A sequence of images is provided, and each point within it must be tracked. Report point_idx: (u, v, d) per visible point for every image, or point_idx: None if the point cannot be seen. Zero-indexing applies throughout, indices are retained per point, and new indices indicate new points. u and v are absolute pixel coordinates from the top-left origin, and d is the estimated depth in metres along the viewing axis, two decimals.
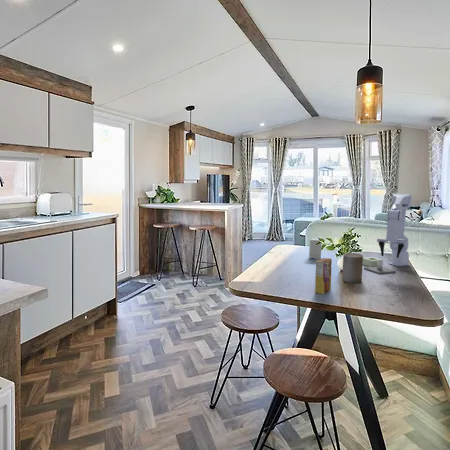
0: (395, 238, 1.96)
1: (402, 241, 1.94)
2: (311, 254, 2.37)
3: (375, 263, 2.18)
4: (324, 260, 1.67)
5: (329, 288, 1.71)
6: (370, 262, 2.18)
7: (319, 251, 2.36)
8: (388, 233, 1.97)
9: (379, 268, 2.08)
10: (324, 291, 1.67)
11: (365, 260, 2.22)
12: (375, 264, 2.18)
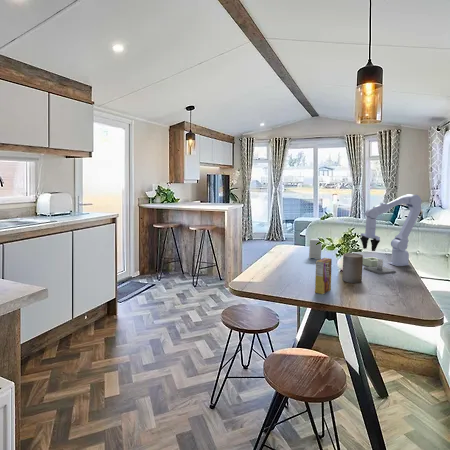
0: (370, 234, 2.21)
1: (374, 236, 2.18)
2: (311, 254, 2.37)
3: (375, 263, 2.18)
4: (324, 260, 1.67)
5: (329, 288, 1.71)
6: (370, 262, 2.18)
7: (319, 251, 2.36)
8: None
9: (379, 268, 2.08)
10: (324, 291, 1.67)
11: (365, 260, 2.22)
12: (375, 264, 2.18)
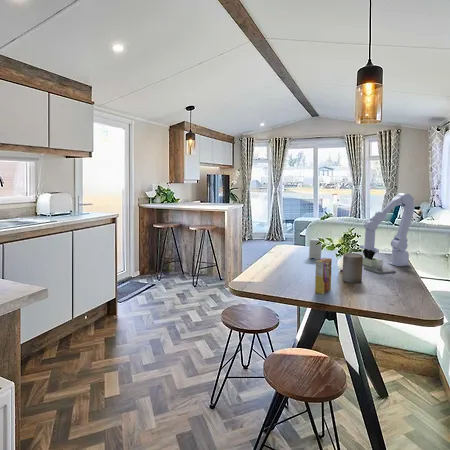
0: (369, 246, 2.22)
1: (374, 249, 2.19)
2: (311, 254, 2.37)
3: (375, 263, 2.18)
4: (324, 260, 1.67)
5: (329, 288, 1.71)
6: (370, 262, 2.18)
7: (319, 251, 2.36)
8: None
9: (379, 268, 2.08)
10: (324, 291, 1.67)
11: (365, 260, 2.22)
12: (375, 264, 2.18)
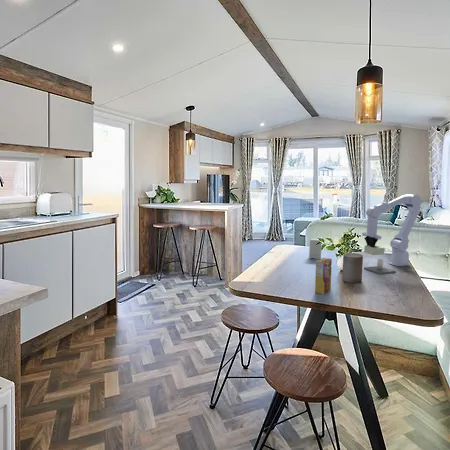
0: (371, 233, 2.18)
1: (376, 236, 2.15)
2: (311, 254, 2.37)
3: (377, 251, 2.15)
4: (324, 260, 1.67)
5: (329, 288, 1.71)
6: (372, 250, 2.15)
7: (319, 251, 2.36)
8: (367, 228, 2.21)
9: (379, 268, 2.08)
10: (324, 291, 1.67)
11: (367, 248, 2.19)
12: (377, 252, 2.15)
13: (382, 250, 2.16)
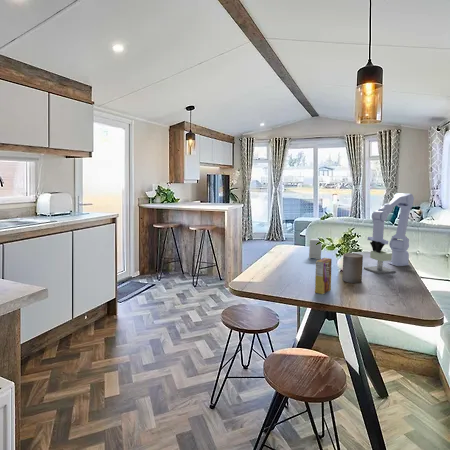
0: (377, 237, 2.08)
1: (382, 240, 2.05)
2: (311, 254, 2.37)
3: (384, 256, 2.05)
4: (324, 260, 1.67)
5: (329, 288, 1.71)
6: (379, 256, 2.04)
7: (319, 251, 2.36)
8: None
9: (379, 268, 2.08)
10: (324, 291, 1.67)
11: (373, 253, 2.08)
12: (384, 258, 2.05)
13: (389, 256, 2.06)
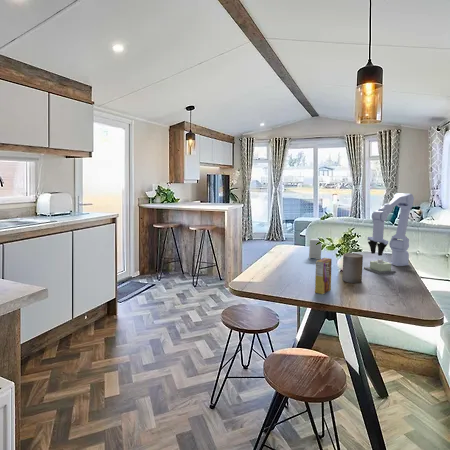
0: (377, 237, 2.08)
1: (382, 240, 2.05)
2: (311, 254, 2.37)
3: (384, 267, 2.05)
4: (324, 260, 1.67)
5: (329, 288, 1.71)
6: (379, 266, 2.05)
7: (319, 251, 2.36)
8: None
9: None
10: (324, 291, 1.67)
11: (373, 264, 2.09)
12: (384, 268, 2.05)
13: (389, 266, 2.06)
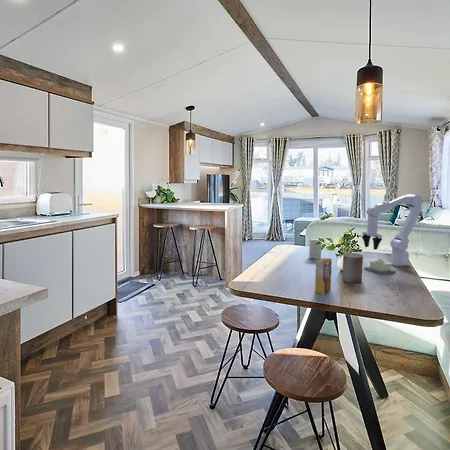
0: (372, 232, 2.19)
1: (376, 235, 2.16)
2: (311, 254, 2.37)
3: (384, 267, 2.05)
4: (324, 260, 1.67)
5: (329, 288, 1.71)
6: (379, 266, 2.05)
7: (319, 251, 2.36)
8: (367, 227, 2.21)
9: None
10: (324, 291, 1.67)
11: (373, 264, 2.09)
12: (384, 268, 2.05)
13: (389, 266, 2.06)
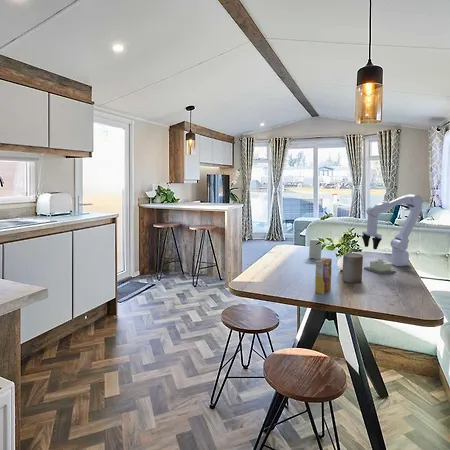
0: (371, 232, 2.19)
1: (376, 234, 2.16)
2: (311, 254, 2.37)
3: (384, 267, 2.05)
4: (324, 260, 1.67)
5: (329, 288, 1.71)
6: (379, 266, 2.05)
7: (319, 251, 2.36)
8: (367, 227, 2.22)
9: None
10: (324, 291, 1.67)
11: (373, 264, 2.09)
12: (384, 268, 2.05)
13: (389, 266, 2.06)
